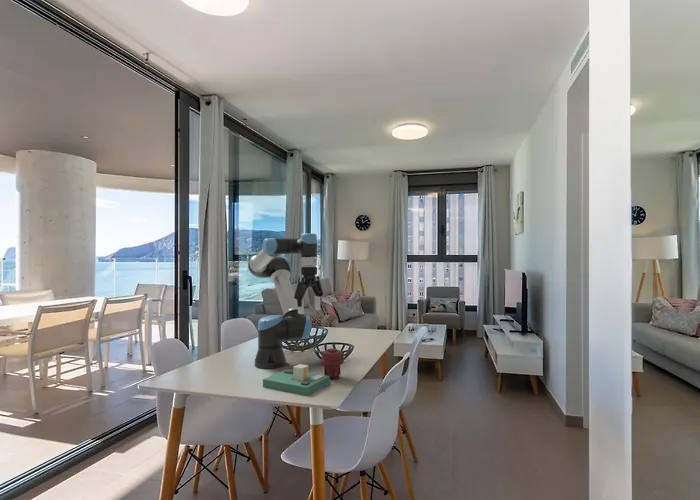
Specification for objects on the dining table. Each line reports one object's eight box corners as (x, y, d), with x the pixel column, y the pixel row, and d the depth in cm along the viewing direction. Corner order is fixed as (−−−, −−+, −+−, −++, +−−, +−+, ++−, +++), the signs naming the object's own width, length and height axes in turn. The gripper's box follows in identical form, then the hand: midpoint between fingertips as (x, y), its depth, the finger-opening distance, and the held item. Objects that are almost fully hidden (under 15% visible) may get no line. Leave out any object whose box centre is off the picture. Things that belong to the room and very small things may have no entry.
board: (262, 386, 161) (262, 377, 161) (287, 375, 175) (287, 367, 175) (307, 395, 151) (307, 386, 151) (329, 383, 165) (329, 374, 165)
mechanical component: (320, 381, 167) (320, 374, 177) (344, 381, 168) (343, 373, 178) (320, 352, 167) (320, 346, 177) (344, 351, 168) (342, 346, 178)
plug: (293, 386, 161) (293, 366, 161) (299, 383, 165) (299, 364, 165) (303, 388, 159) (302, 368, 159) (309, 385, 163) (309, 365, 163)
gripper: (299, 267, 173) (300, 316, 173) (330, 265, 195) (330, 309, 195) (286, 267, 177) (286, 315, 176) (317, 265, 199) (317, 308, 198)
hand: (309, 311), depth 186 cm, fingers open, 13 cm apart
